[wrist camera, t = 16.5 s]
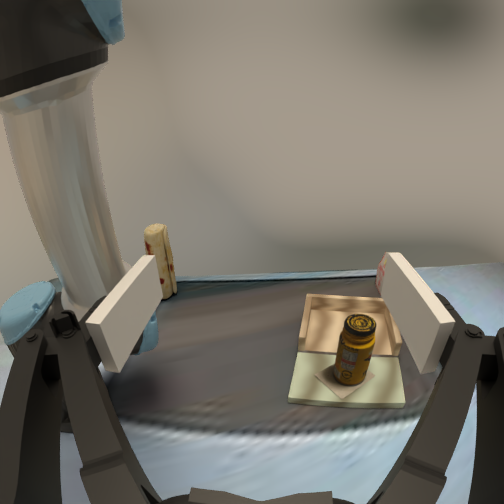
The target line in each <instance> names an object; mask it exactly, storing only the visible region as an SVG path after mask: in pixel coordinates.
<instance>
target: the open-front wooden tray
mask: <svg viewBox="0 0 504 504" xmlns="http://www.w3.org/2000/svg"><path fill="white" fill-rule="evenodd" d="M353 314H365V315H369V316H370V317H372V318H373V319H374V320H375V322H376V330H375V344H374V348H373V352H372V356H371V359H370V363H369V367H368V371H370V372H371V373H373V374H374V375H375V376H374V377H373V378H372V379H370V380H369V381H368V382H366V383H365V384H364V385H362V386H361V387H359V388H358V389H356V390H355V391H353V392H352V393H350V394H349V395H348V396H346V397H344V398H343V399H341V398H340V397H339V396H337V395H336V394H335V393H334V392H333V391H332V390H330V389H329V388H328V387H327V386H326V385H325V384H324V383H323V382H322V381H320V380H319V379H318V377H316V376H315V374H316V373H318V372H320V371H322V370H324V369H325V368H327V367H329V366H331V365H333V364H335V359H336V354H337V348H338V342H339V336H340V333H341V331H342V330H343V327H344V321H345V319H346V318H347V317H348V316H350V315H353ZM401 345H402V340H401V336H400V331H399V328H398V327H397V325H396V323H395V321H394V319H393V317H392V315H391V313H390V311H389V309H388V308H387V306H386V304H385V302H384V300H383V298H368V297H350V296H334V295H319V294H307V297H306V303H305V308H304V314H303V319H302V324H301V329H300V335H299V345H298V354H297V359H296V364H295V369H294V373H293V378H292V383H291V387H290V392H289V396H288V403H296V404H306V405H317V406H330V407H348V408H403V406H404V404H405V397H404V390H403V383H402V377H401V371H400V365H399V360H398V354H399V351H400V348H401Z"/></svg>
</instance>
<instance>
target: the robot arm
mask: <svg viewBox="0 0 504 504" xmlns="http://www.w3.org/2000/svg"><path fill="white" fill-rule="evenodd" d="M124 36H125V33H124V24H123V13H122V1H121V0H0V113H1V114H2V116H3V121H4V125H5V130H6V135H7V139H8V143H9V147H10V151H11V155H12V159H13V163H14V166H15V169H16V173H17V176H18V179H19V183H20V186H21V189H22V192H23V195H24V197H25V200H26V203H27V206H28V209H29V211H30V214H31V217H32V219H33V222H34V224H35V227H36V229H37V231H38V234H39V236H40V239H41V241H42V243H43V246H44V248H45V250H46V252H47V255H48V257H49V259H50V261H51V263H52V265H53V267H54V269H55V271H56V273H57V275H58V277H59V279H60V281H61V283H62V285H63V288H62V292H56V291H55V287H53V285H52V284H51V283H50V282H45V281H41V282H37V283H34V284H31V285H29V286H27V287H25V288H23V289H21V290H19V291H18V292H16V293H15V294H14V295H13V296H11V297H10V298H9V299H8V300H7V301H6V302H5V303H4V305H3V306H2V308H1V310H0V331H1V333H2V336H3V338H4V342H5V344H6V345H7V346H8V348H9V350H10V351H11V353H12V355H13V357H14V360H13V364H12V367H11V370H10V373H9V376H8V380H7V383H6V387H5V391H4V394H3V398H2V402H1V406H0V504H62V496H61V481H60V431H62V432H73V434H74V437H75V441H76V444H77V447H78V451H79V454H80V457H81V460H82V463H83V468H81V469H80V475H81V479H82V482H83V484H84V487H85V490H86V492H87V495H88V497H89V500H90V502H91V504H354V503H352V502H349V501H346V500H341V499H337V498H332V491H327V492H315V493H298V494H293V495H289V496H285V497H281V498H276V499H271V500H266V501H256V500H252V499H249V498H245V497H241V496H238V495H234V494H231V493H228V492H224V491H214V490H206V489H198V488H192V487H191V491H190V494H187V495H180V496H175V497H171V498H168V499H166V500H163V501H162V500H161V498H160V497H159V495H158V494H157V493H156V491H155V490H154V488H153V487H152V485H151V484H150V482H149V480H148V478H147V477H146V475H145V473H144V471H143V469H142V467H141V465H140V464H139V462H138V460H137V458H136V456H135V454H134V452H133V450H132V448H131V446H130V444H129V441H128V439H127V437H126V435H125V433H124V431H123V428H122V426H121V424H120V422H119V419H118V417H117V415H116V412H115V410H114V407H113V405H112V402H111V400H110V397H109V392H108V389H107V387H106V385H105V383H104V381H103V378H102V375H101V373H100V370H99V368H98V366H99V364H100V363H101V361H102V364H103V366H104V368H105V370H106V371H111V372H117V373H120V371H121V370H122V368H123V366H124V364H125V362H126V360H127V359H128V357H129V355H139V354H140V353H142V352H146V351H150V350H152V349H154V348H155V347H156V346H157V344H158V325H157V319H156V313H155V309H156V308H157V306H158V304H159V303H160V301H161V299H162V298H163V293H162V288H161V284H160V279H159V274H158V268H157V263H156V258H155V255H143V256H142V257H141V258H140V260H139V261H138V262H137V263H136V264H135V265H134V266H133V267H131V266H130V265H129V264H127V263H126V262H124V261H122V258H121V255H120V251H119V247H118V243H117V239H116V235H115V231H114V227H113V223H112V219H111V214H110V209H109V205H108V200H107V195H106V190H105V185H104V180H103V174H102V168H101V162H100V156H99V149H98V143H97V135H96V127H95V118H94V108H93V98H92V84H93V81H94V80H95V78H96V77H97V76H98V75H99V74H100V72H101V71H102V70H103V69H104V68H105V66H106V65H107V64H108V44H112V45H114V44H115V43H117V42H119V41H121V40H123V38H124ZM381 297H382V298H383V300H384V302H385V304H386V306H387V308H388V309H389V311H390V313H391V315H392V317H393V319H394V321H395V323H396V325H397V327H398V328H399V330H400V332H401V334H402V336H403V338H404V340H405V342H406V344H407V346H408V348H409V350H410V352H411V355H412V357H413V359H414V361H415V363H416V365H417V367H418V369H419V372H420V374H423V373H429V372H434V371H435V370H436V368H437V366H438V363H439V361H440V363H441V365H442V367H443V368H442V370H441V372H440V374H439V376H438V378H437V380H436V382H435V384H434V385H435V387H434V389H433V391H432V394H431V396H430V398H429V400H428V403H427V405H426V407H425V409H424V411H423V413H422V415H421V417H420V419H419V421H418V423H417V425H416V427H415V429H414V431H413V433H412V435H411V437H410V438H409V440H408V442H407V444H406V446H405V447H404V449H403V451H402V453H401V454H400V456H399V458H398V459H397V461H396V463H395V464H394V466H393V467H392V469H391V471H390V472H389V474H388V475H387V477H386V478H385V480H384V481H383V483H382V484H381V486H380V487H379V489H378V490H377V491H376V493H375V494H374V495H373V496H372V498H371V499H370V500H369V501H368V503H367V504H436V502H437V500H438V498H439V496H440V494H441V492H442V490H443V488H444V485H445V483H446V479H447V477H446V476H444V475H445V472H446V469H447V467H448V464H449V462H450V460H451V457H452V455H453V452H454V450H455V447H456V445H457V442H458V440H459V437H460V434H461V431H462V428H463V425H464V422H465V419H466V416H467V413H468V410H469V406H470V403H471V399H472V396H473V392H474V388H475V384H476V386H477V431H476V448H475V459H474V468H473V476H472V483H471V489H470V495H469V500H468V504H504V327H503V328H500V329H499V330H498V332H497V335H496V337H495V336H485V335H484V332H483V331H482V330H481V329H480V328H479V327H477V326H475V325H472V324H466V323H465V322H464V321H463V319H462V318H461V317H460V315H459V314H458V313H457V311H456V310H454V308H453V306H452V305H450V303H449V301H448V300H447V299H446V298H445V297H444V296H442V295H441V294H439V293H433V292H432V290H431V289H430V288H429V287H428V285H427V284H426V283H425V282H424V280H423V279H422V278H421V277H420V276H419V274H418V273H417V272H416V271H415V270H414V268H413V267H411V265H410V264H409V263H408V261H407V260H406V259H405V258H404V257H403V256H402V255H401V253H388V255H387V262H386V268H385V274H384V280H383V286H382V291H381Z"/></svg>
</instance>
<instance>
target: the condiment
mask: <svg viewBox="0 0 504 504" xmlns="http://www.w3.org/2000/svg"><path fill="white" fill-rule="evenodd" d="M375 330H376V322H375V320H374V319H373V318H372V317H370V316H369V315H365V314H353V315H350V316H348V317H347V318H346V319H345V321H344V327H343V330H342V331H341V333H340V336H339V342H338V348H337V354H336V359H335V364H333V365H331V366H329V367H327V368H325V369H324V370H322V371H320V372H318V373H316V374H315V376H316V377H318V379H319V380H320V381H322V382H323V383H324V384H325V385H326V386H327V387H328V388H329V389H330V390H332V391H333V392H334V393H335V394H336V395H337V396H339V397H340V398H341V399H343V398H344V397H346V396H348V395H349V394H350V393H352V392H353V391H355V390H356V389H358V388H359V387H361V386H362V385H364V384H365V383H366V382H368V381H369V380H370V379H372V378H373V377H374V376H375V375H374V374H373V373H371V372H370V371H368V367H369V363H370V359H371V356H372V352H373V348H374V344H375Z"/></svg>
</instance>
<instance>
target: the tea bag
mask: <svg viewBox="0 0 504 504" xmlns="http://www.w3.org/2000/svg"><path fill="white" fill-rule="evenodd" d="M387 255H388V253H386V252H385V254H384V256H383V258H382V260H381V261H380V263H379V265H378V270H377V277H376V283H375V284H376V286H377V289H378V291H379V293H380V296H381V291H382V286H383V280H384V274H385V268H386V262H387Z"/></svg>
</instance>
